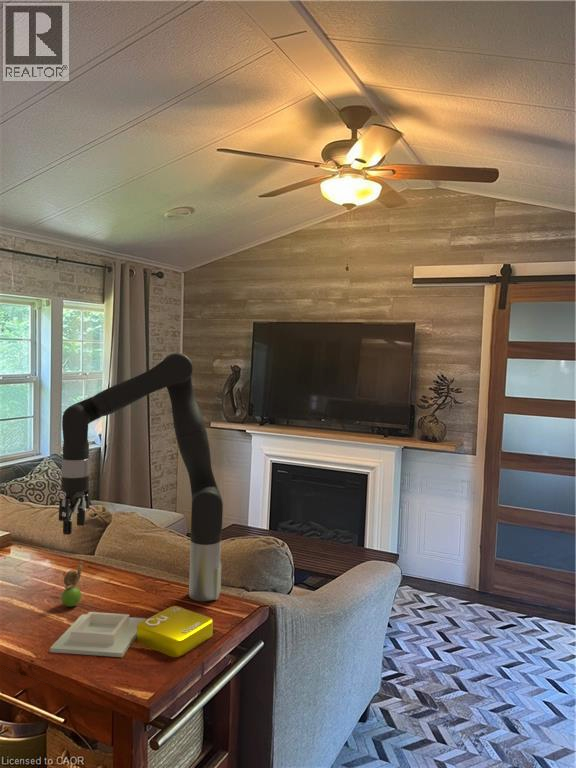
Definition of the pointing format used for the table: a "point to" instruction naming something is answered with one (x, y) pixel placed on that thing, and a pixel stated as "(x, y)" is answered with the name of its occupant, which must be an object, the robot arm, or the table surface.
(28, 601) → the table surface
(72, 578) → the snail figurine
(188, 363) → the robot arm
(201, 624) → the element tile
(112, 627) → the collar stand
